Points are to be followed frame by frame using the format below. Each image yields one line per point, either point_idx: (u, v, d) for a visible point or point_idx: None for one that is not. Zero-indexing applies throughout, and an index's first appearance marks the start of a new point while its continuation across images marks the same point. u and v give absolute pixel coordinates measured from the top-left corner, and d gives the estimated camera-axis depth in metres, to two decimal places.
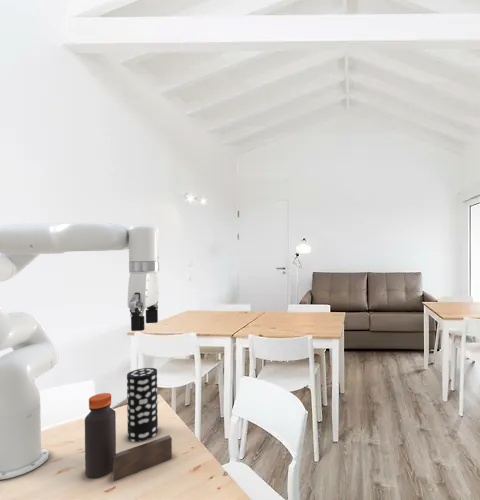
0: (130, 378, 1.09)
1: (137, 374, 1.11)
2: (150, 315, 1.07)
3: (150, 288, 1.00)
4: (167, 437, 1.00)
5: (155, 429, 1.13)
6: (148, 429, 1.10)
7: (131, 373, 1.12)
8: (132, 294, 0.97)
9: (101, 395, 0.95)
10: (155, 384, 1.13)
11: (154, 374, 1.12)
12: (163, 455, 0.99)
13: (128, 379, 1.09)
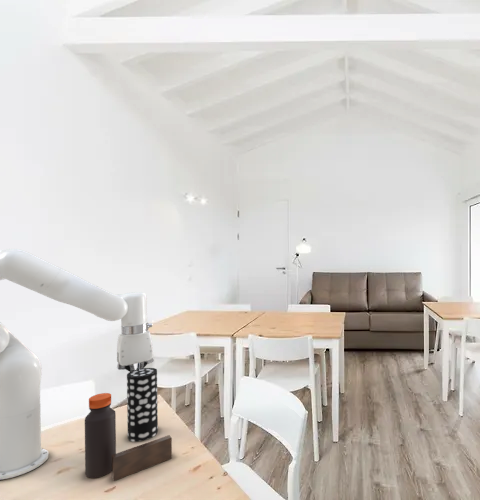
0: (129, 378, 1.09)
1: (137, 374, 1.11)
2: None
3: (129, 349, 1.16)
4: (167, 437, 1.00)
5: (155, 429, 1.13)
6: (148, 429, 1.10)
7: (131, 373, 1.12)
8: (117, 352, 1.17)
9: (101, 395, 0.95)
10: (155, 384, 1.13)
11: (154, 374, 1.12)
12: (163, 455, 0.99)
13: (128, 379, 1.09)
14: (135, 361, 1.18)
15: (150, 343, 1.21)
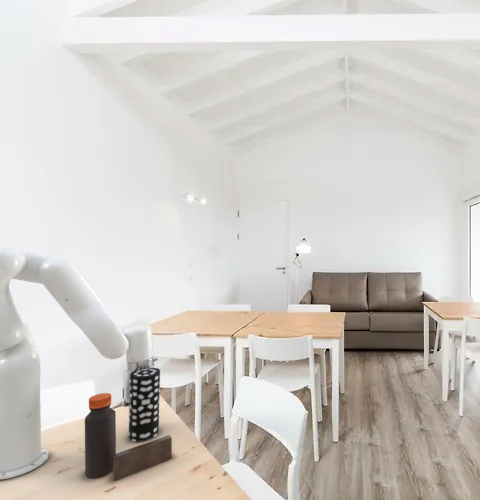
0: (133, 378, 1.08)
1: (140, 374, 1.10)
2: None
3: None
4: (167, 437, 1.00)
5: (156, 429, 1.13)
6: (149, 429, 1.10)
7: (134, 373, 1.11)
8: (122, 389, 1.14)
9: (101, 395, 0.95)
10: (158, 384, 1.12)
11: (157, 375, 1.12)
12: (163, 455, 0.99)
13: (131, 379, 1.09)
14: None
15: None
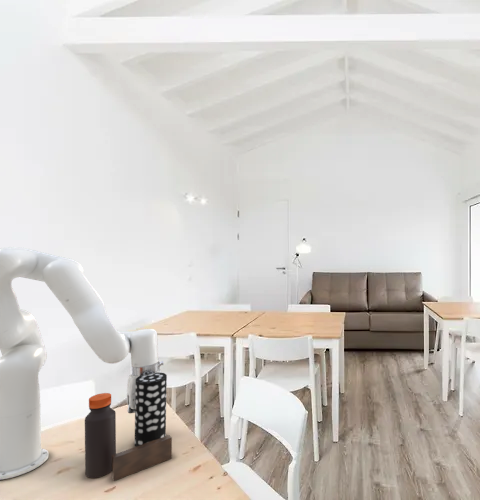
0: (139, 383, 1.04)
1: (146, 379, 1.06)
2: None
3: None
4: (167, 437, 1.00)
5: (163, 436, 1.08)
6: (156, 437, 1.06)
7: (140, 378, 1.07)
8: (127, 394, 1.10)
9: (101, 395, 0.95)
10: (165, 390, 1.08)
11: (164, 380, 1.08)
12: (163, 455, 0.99)
13: (137, 385, 1.04)
14: None
15: None
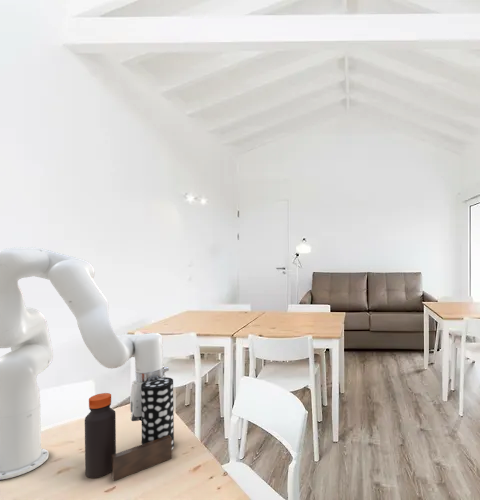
0: (147, 389, 1.00)
1: (153, 385, 1.02)
2: None
3: None
4: (167, 437, 1.00)
5: (173, 442, 1.05)
6: None
7: (145, 384, 1.03)
8: (130, 401, 1.06)
9: (101, 395, 0.95)
10: (172, 394, 1.06)
11: (172, 383, 1.05)
12: (163, 455, 0.99)
13: (145, 391, 1.00)
14: None
15: None
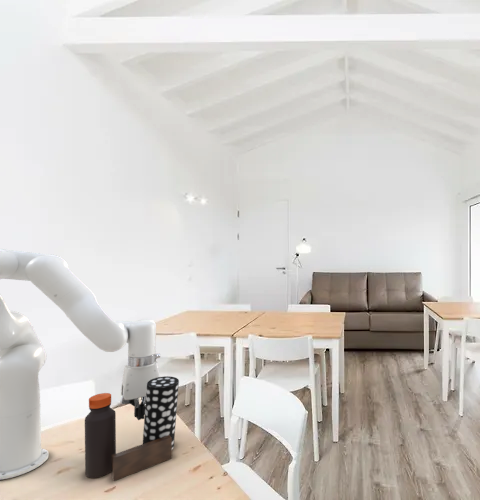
0: (153, 389, 1.00)
1: (159, 384, 1.02)
2: None
3: (135, 382, 1.09)
4: (167, 437, 1.00)
5: (173, 442, 1.05)
6: None
7: (151, 383, 1.02)
8: (121, 385, 1.09)
9: (101, 395, 0.95)
10: (177, 394, 1.05)
11: (177, 384, 1.05)
12: (163, 455, 0.99)
13: (150, 390, 1.00)
14: (140, 395, 1.10)
15: (157, 375, 1.13)
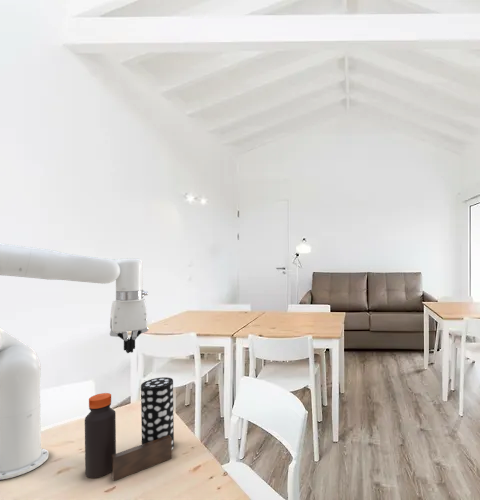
0: (147, 389, 1.00)
1: (153, 385, 1.02)
2: None
3: (122, 315, 1.13)
4: (167, 437, 1.00)
5: (173, 442, 1.05)
6: None
7: (145, 384, 1.03)
8: (110, 319, 1.13)
9: (101, 395, 0.95)
10: (172, 394, 1.05)
11: (172, 383, 1.05)
12: (163, 455, 0.99)
13: (145, 391, 1.00)
14: (128, 328, 1.14)
15: (145, 311, 1.17)
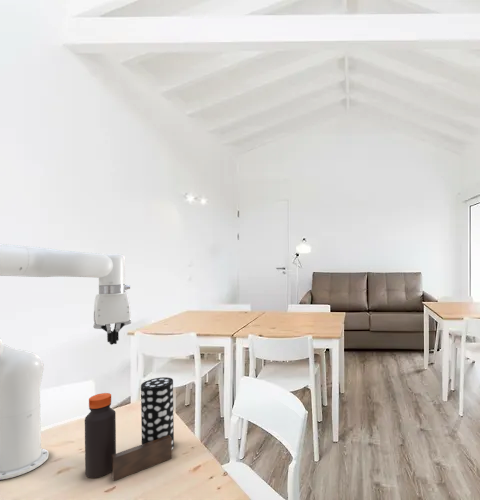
0: (147, 389, 1.00)
1: (153, 385, 1.02)
2: None
3: (106, 308, 1.17)
4: (167, 437, 1.00)
5: (173, 442, 1.05)
6: None
7: (145, 384, 1.03)
8: None
9: (101, 395, 0.95)
10: (172, 394, 1.05)
11: (172, 383, 1.05)
12: (163, 455, 0.99)
13: (144, 391, 1.00)
14: (112, 321, 1.19)
15: (127, 304, 1.22)
